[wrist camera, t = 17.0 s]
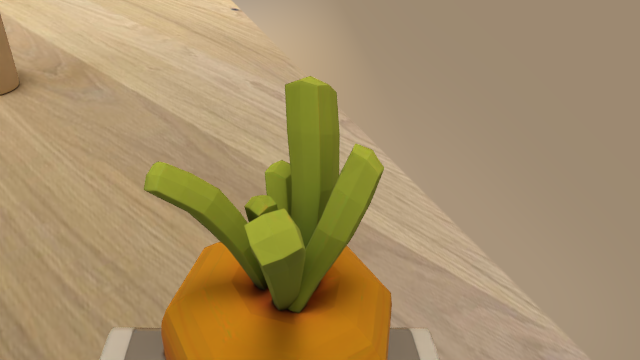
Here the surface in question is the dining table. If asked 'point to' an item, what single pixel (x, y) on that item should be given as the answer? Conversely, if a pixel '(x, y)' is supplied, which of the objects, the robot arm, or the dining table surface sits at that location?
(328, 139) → the carrot
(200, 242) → the dining table surface
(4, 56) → the candle
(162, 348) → the robot arm
